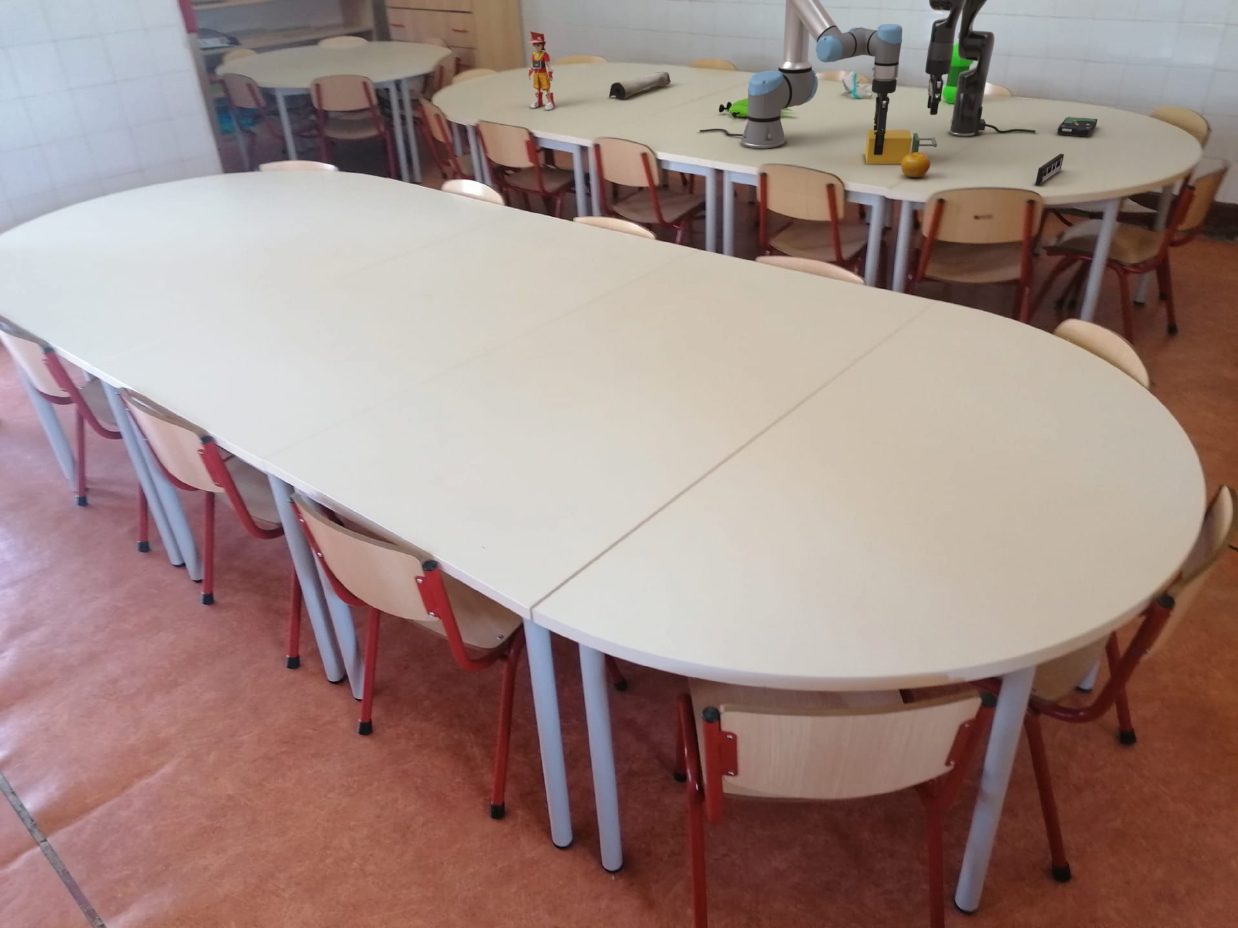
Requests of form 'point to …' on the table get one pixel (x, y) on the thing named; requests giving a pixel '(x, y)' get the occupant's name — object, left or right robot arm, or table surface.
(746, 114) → the toy
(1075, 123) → the disk drive
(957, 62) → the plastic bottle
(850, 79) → the anatomical model
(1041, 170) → the midi keyboard
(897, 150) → the cabinet
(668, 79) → the rolled mat
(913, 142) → the drawer
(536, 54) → the toy
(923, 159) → the fruit
